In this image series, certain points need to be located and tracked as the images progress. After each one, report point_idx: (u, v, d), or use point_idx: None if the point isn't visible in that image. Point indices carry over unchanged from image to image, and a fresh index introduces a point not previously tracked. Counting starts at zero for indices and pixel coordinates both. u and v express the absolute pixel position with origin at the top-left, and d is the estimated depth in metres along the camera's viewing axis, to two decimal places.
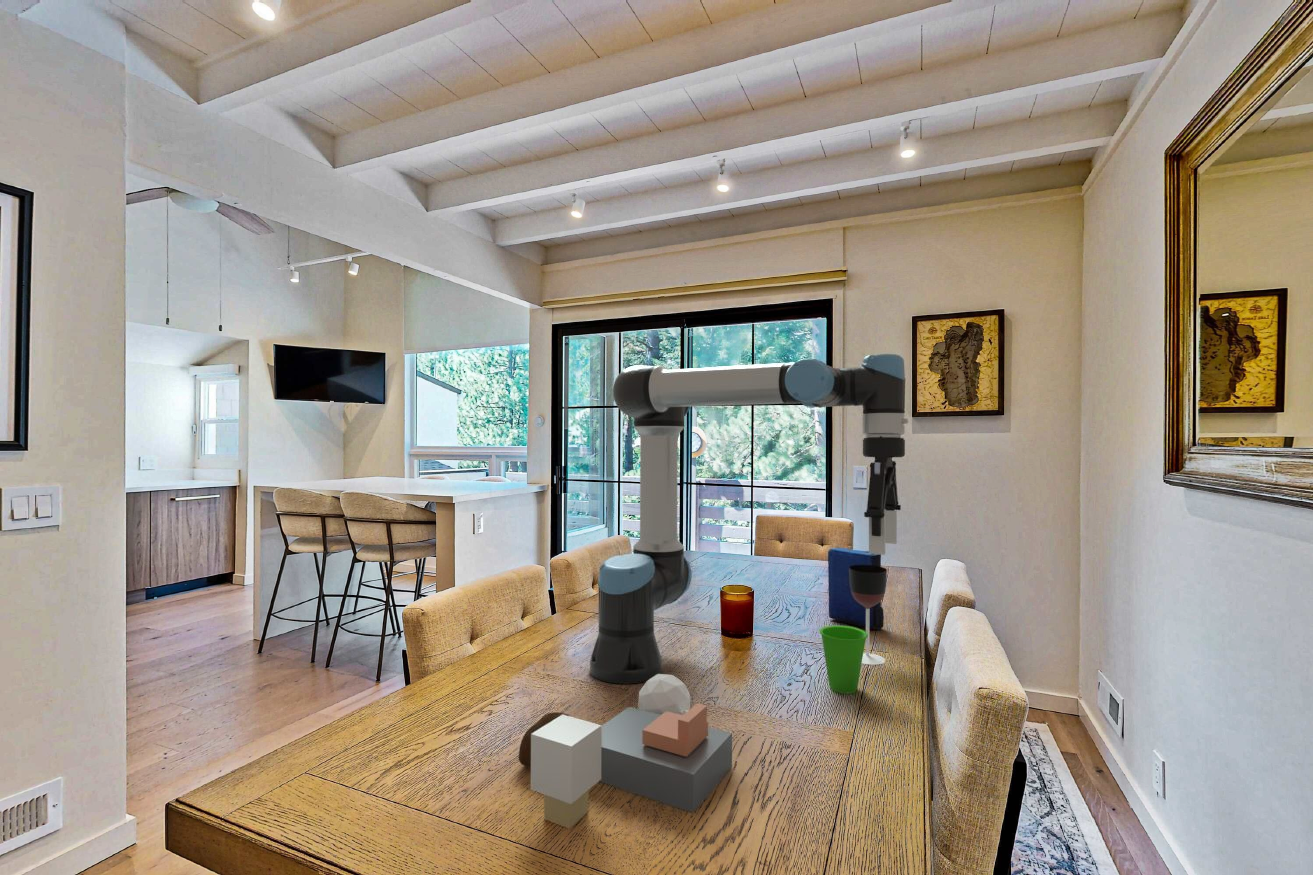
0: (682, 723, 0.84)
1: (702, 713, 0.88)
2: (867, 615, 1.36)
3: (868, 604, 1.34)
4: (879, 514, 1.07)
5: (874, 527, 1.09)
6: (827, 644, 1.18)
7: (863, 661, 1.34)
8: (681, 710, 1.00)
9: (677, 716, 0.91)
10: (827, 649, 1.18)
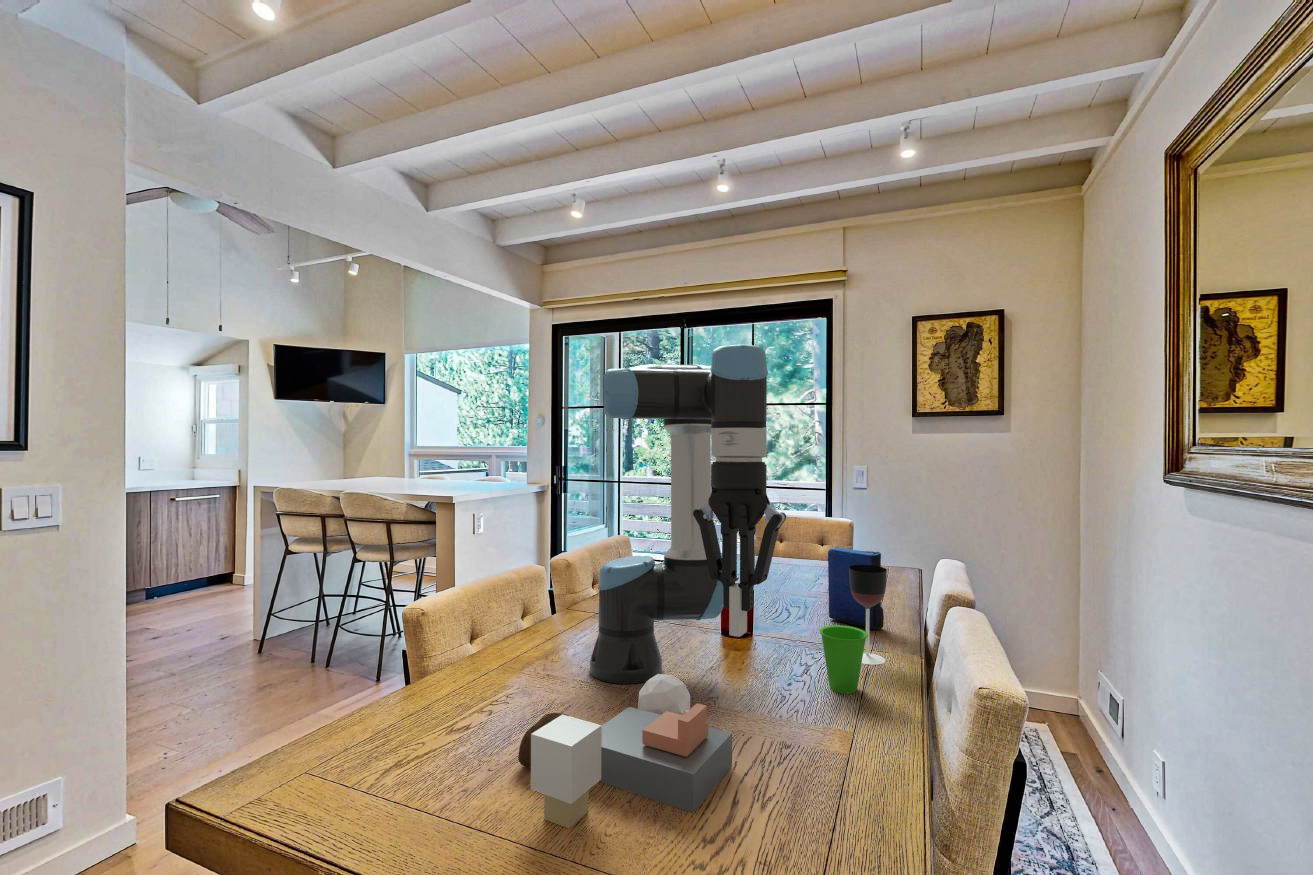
0: (682, 723, 0.84)
1: (702, 713, 0.88)
2: (867, 615, 1.36)
3: (868, 604, 1.34)
4: None
5: None
6: (827, 644, 1.18)
7: (863, 661, 1.34)
8: (681, 710, 1.00)
9: (677, 716, 0.91)
10: (826, 649, 1.18)
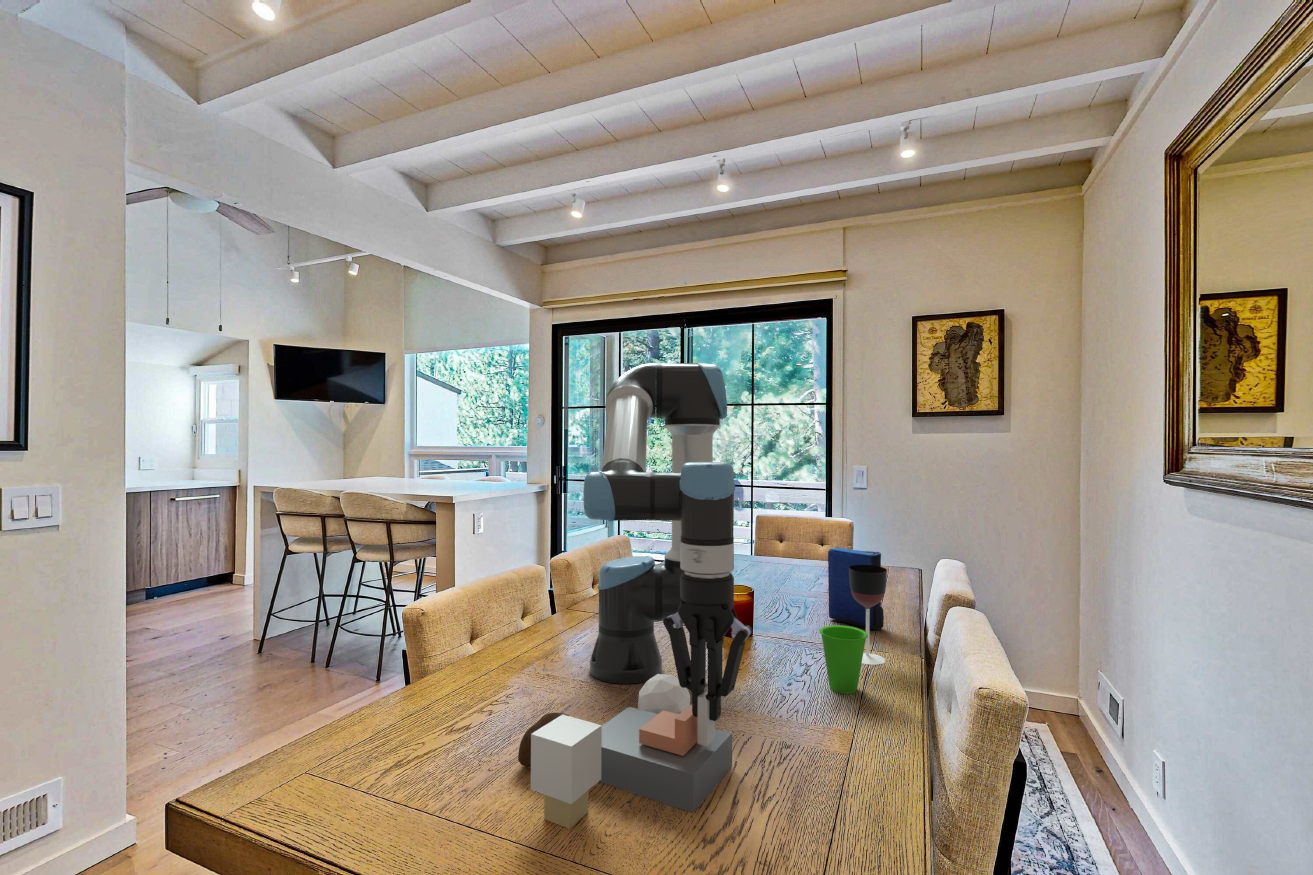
0: (679, 722, 0.84)
1: None
2: (867, 615, 1.36)
3: (868, 604, 1.34)
4: None
5: None
6: (827, 644, 1.18)
7: (863, 661, 1.34)
8: (681, 710, 1.00)
9: (674, 715, 0.91)
10: (827, 649, 1.18)
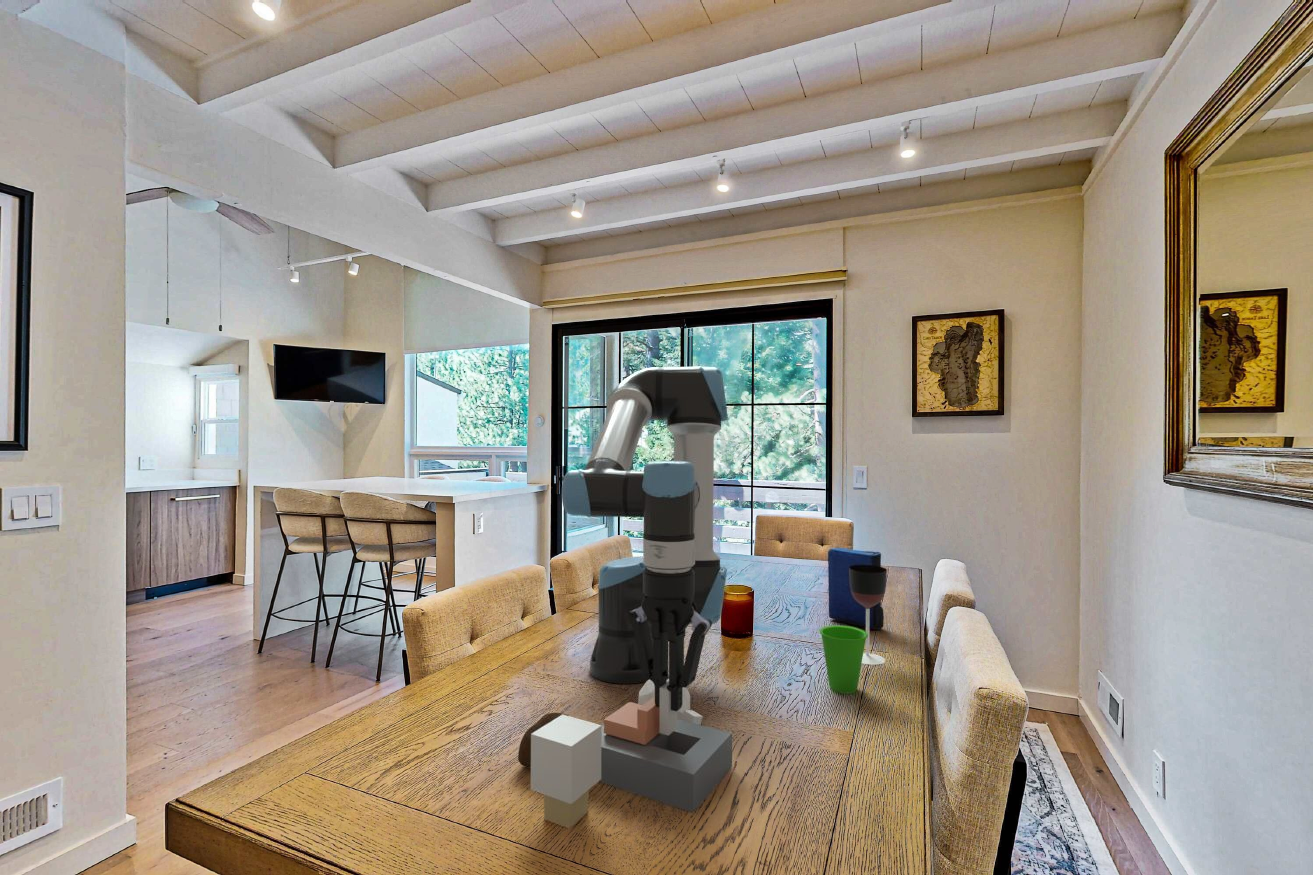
0: (641, 712, 0.87)
1: None
2: (867, 615, 1.36)
3: (868, 604, 1.34)
4: None
5: None
6: (827, 644, 1.18)
7: (863, 661, 1.34)
8: (681, 710, 1.00)
9: (639, 706, 0.94)
10: (827, 649, 1.18)
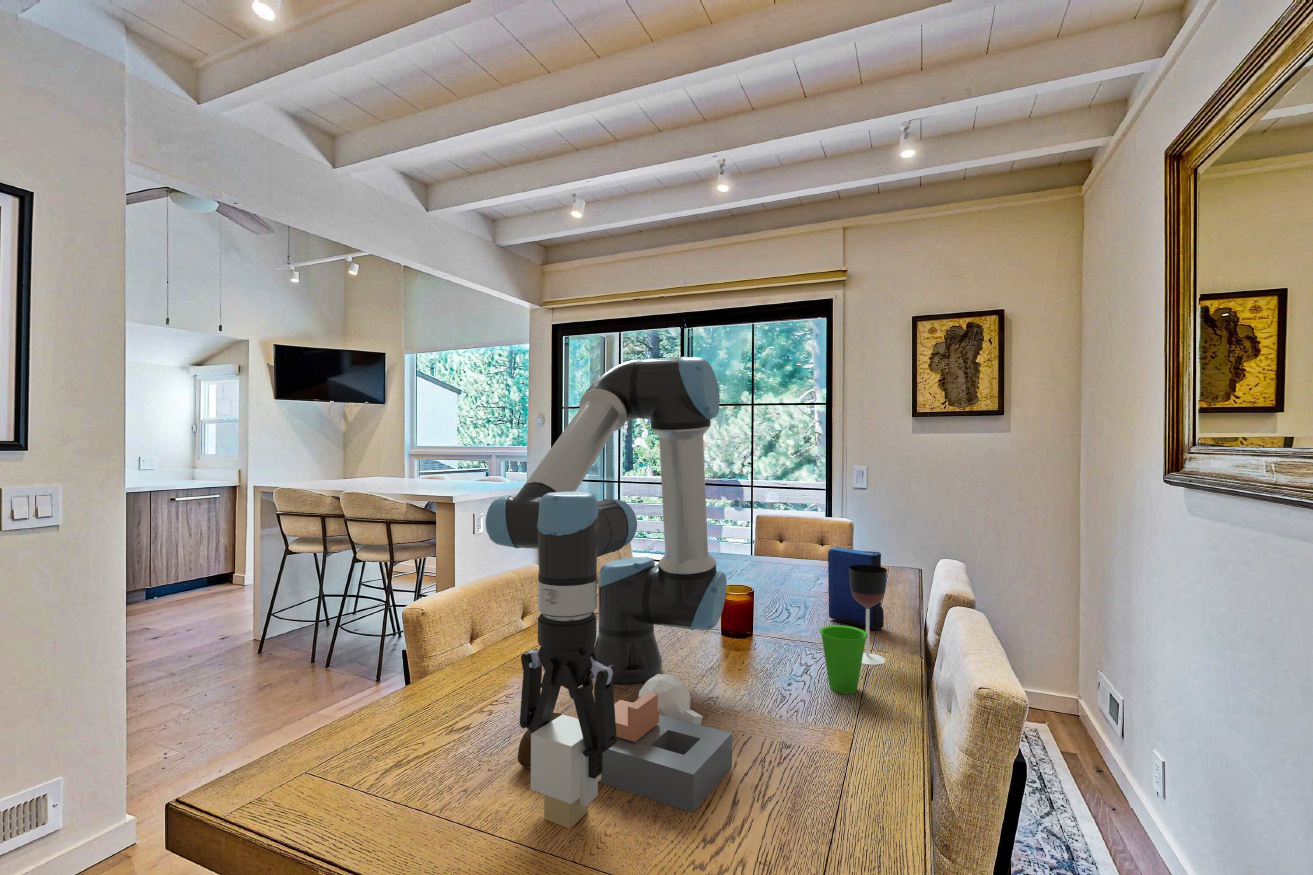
0: (631, 710, 0.88)
1: (652, 701, 0.92)
2: (867, 615, 1.36)
3: (868, 604, 1.34)
4: None
5: None
6: (827, 644, 1.18)
7: (863, 661, 1.34)
8: (681, 710, 1.00)
9: (630, 704, 0.95)
10: (827, 649, 1.18)
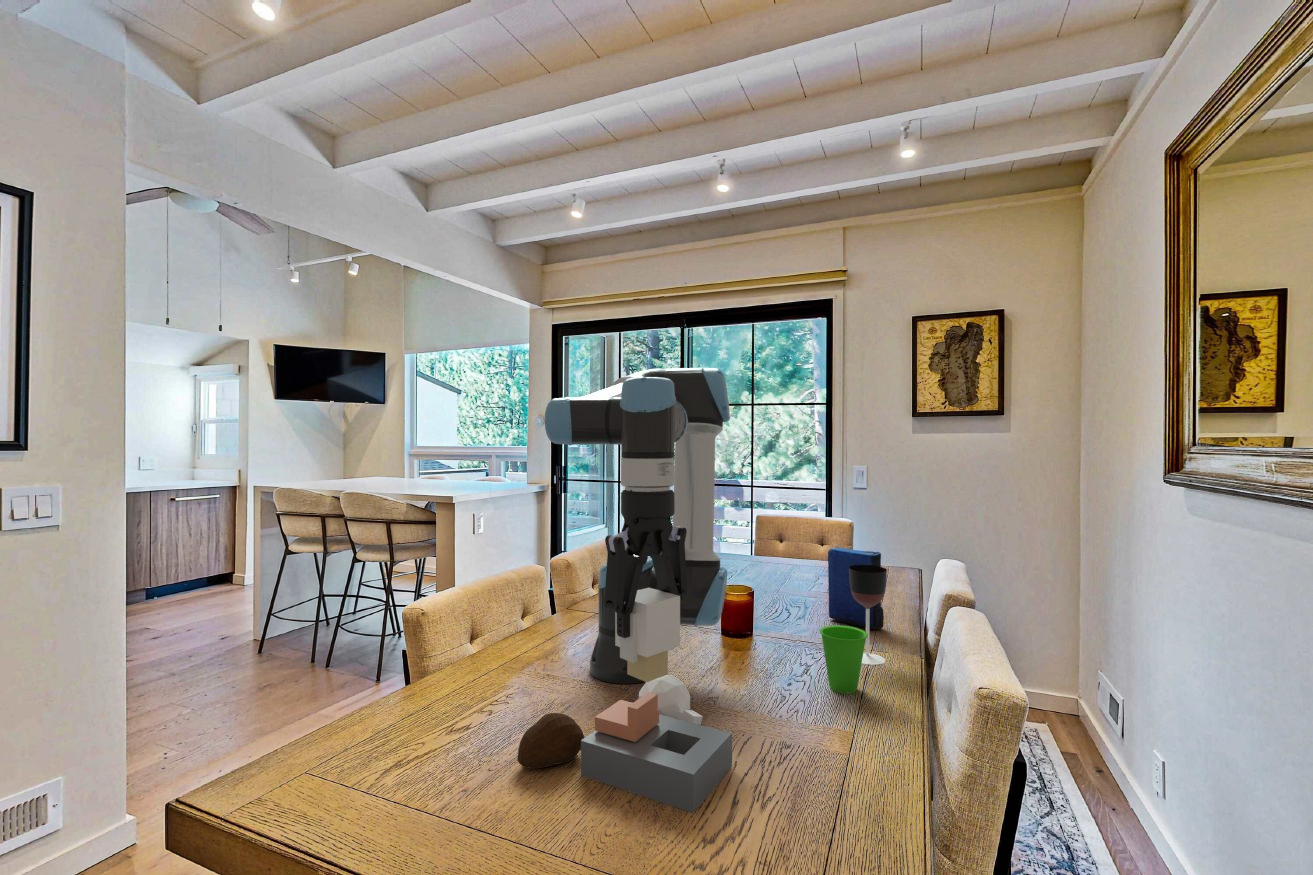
0: (631, 710, 0.88)
1: (652, 701, 0.92)
2: (867, 615, 1.36)
3: (868, 604, 1.34)
4: (615, 610, 0.80)
5: (619, 625, 0.82)
6: (827, 644, 1.18)
7: (863, 661, 1.34)
8: (681, 710, 1.00)
9: (630, 704, 0.95)
10: (827, 649, 1.18)
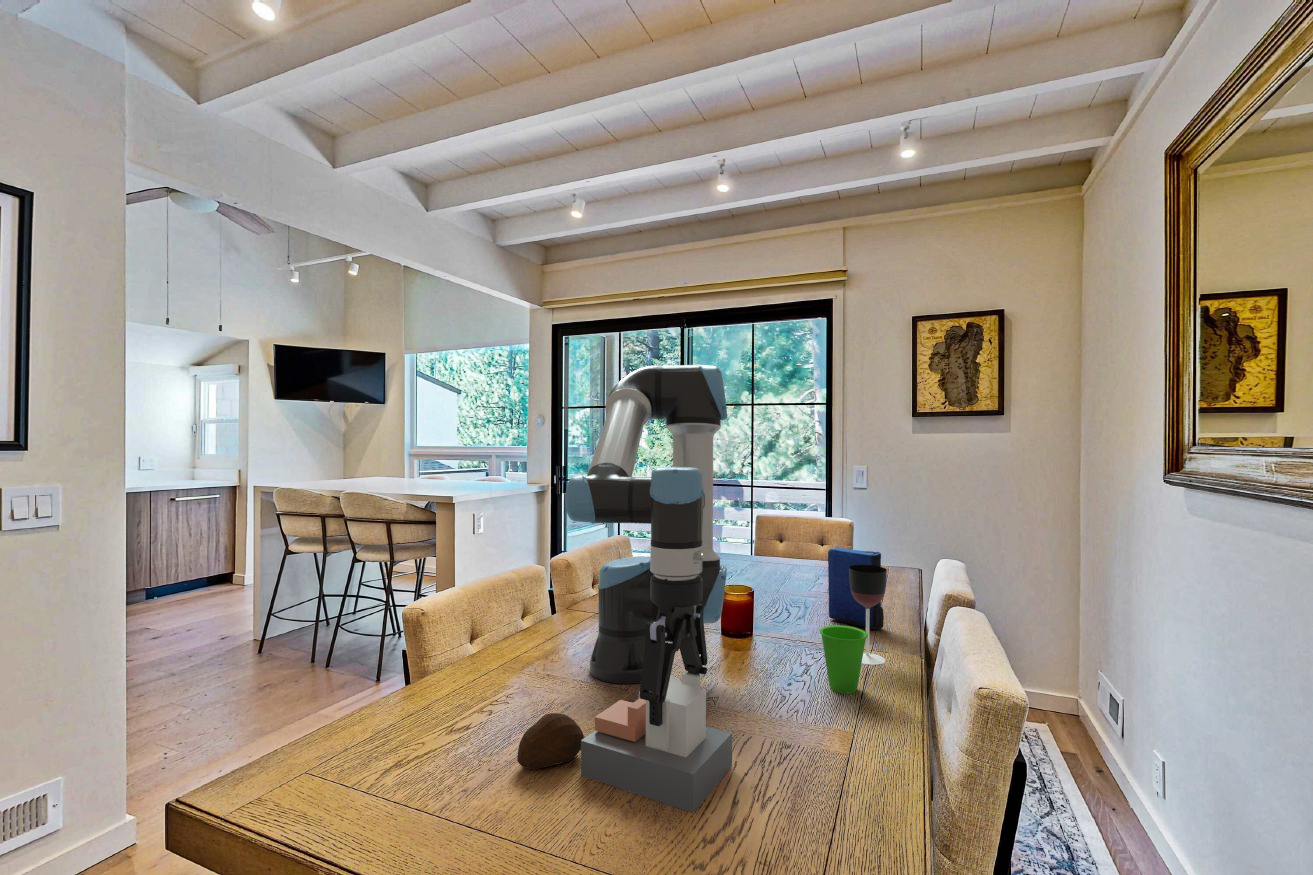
0: (631, 710, 0.88)
1: None
2: (867, 615, 1.36)
3: (868, 604, 1.34)
4: (653, 701, 0.80)
5: (652, 713, 0.82)
6: (827, 644, 1.18)
7: (863, 661, 1.34)
8: None
9: (630, 704, 0.95)
10: (827, 649, 1.18)
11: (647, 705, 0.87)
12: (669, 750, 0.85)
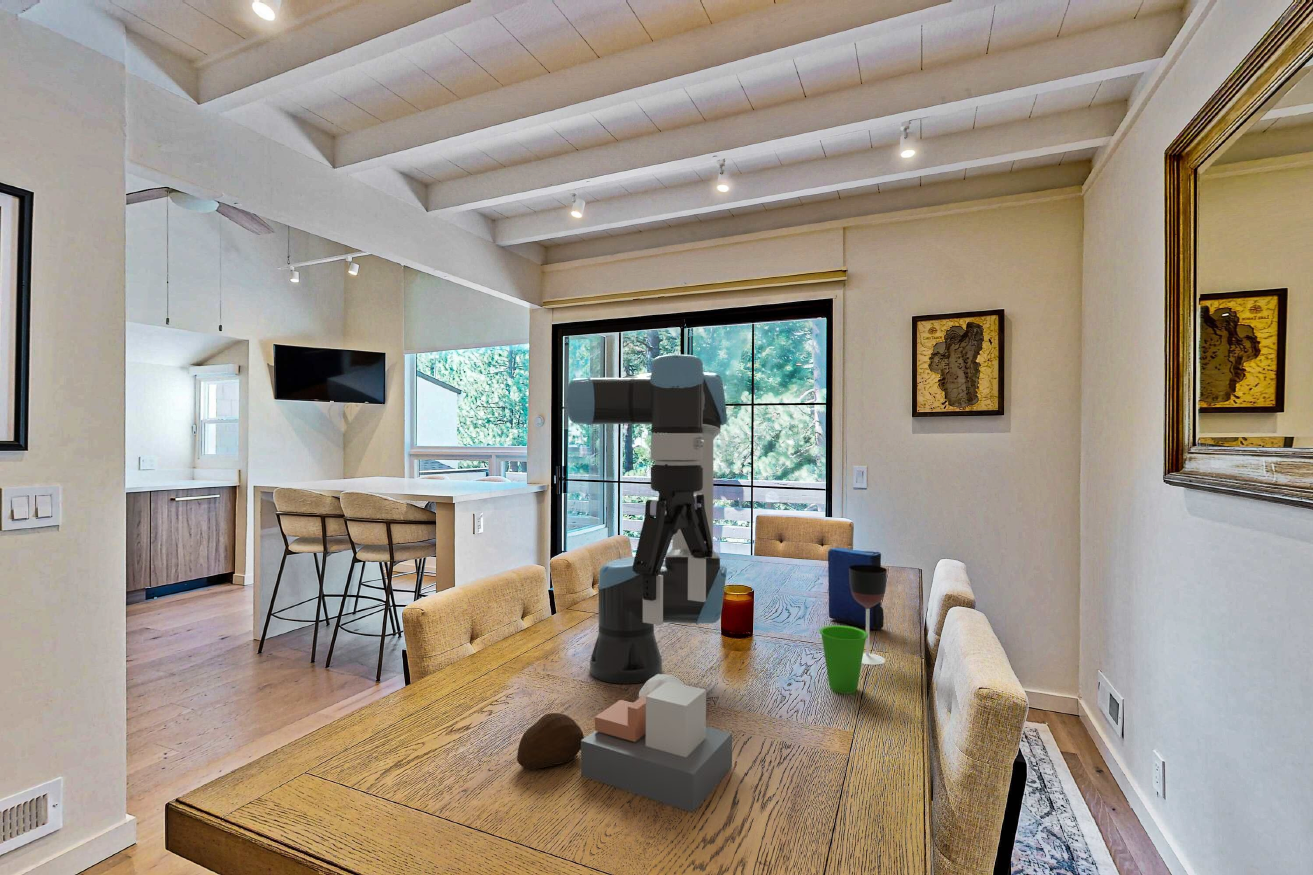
0: (631, 710, 0.88)
1: None
2: (867, 615, 1.36)
3: (868, 604, 1.34)
4: (647, 572, 0.79)
5: (646, 588, 0.81)
6: (827, 644, 1.18)
7: (863, 661, 1.34)
8: None
9: (630, 704, 0.95)
10: (827, 649, 1.18)
11: (647, 705, 0.87)
12: (669, 750, 0.85)
